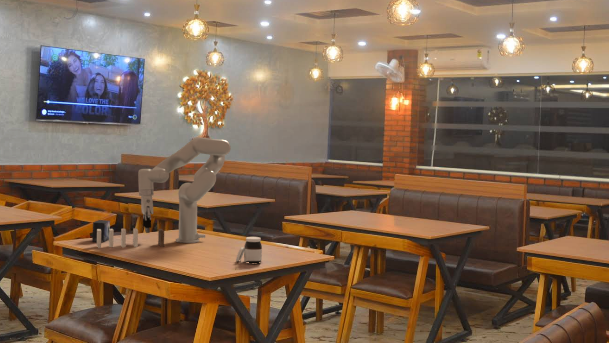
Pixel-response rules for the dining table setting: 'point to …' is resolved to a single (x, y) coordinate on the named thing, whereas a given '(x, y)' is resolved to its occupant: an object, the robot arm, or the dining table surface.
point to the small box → (104, 228)
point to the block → (161, 237)
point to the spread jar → (251, 250)
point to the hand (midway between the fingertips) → (147, 226)
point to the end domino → (147, 230)
